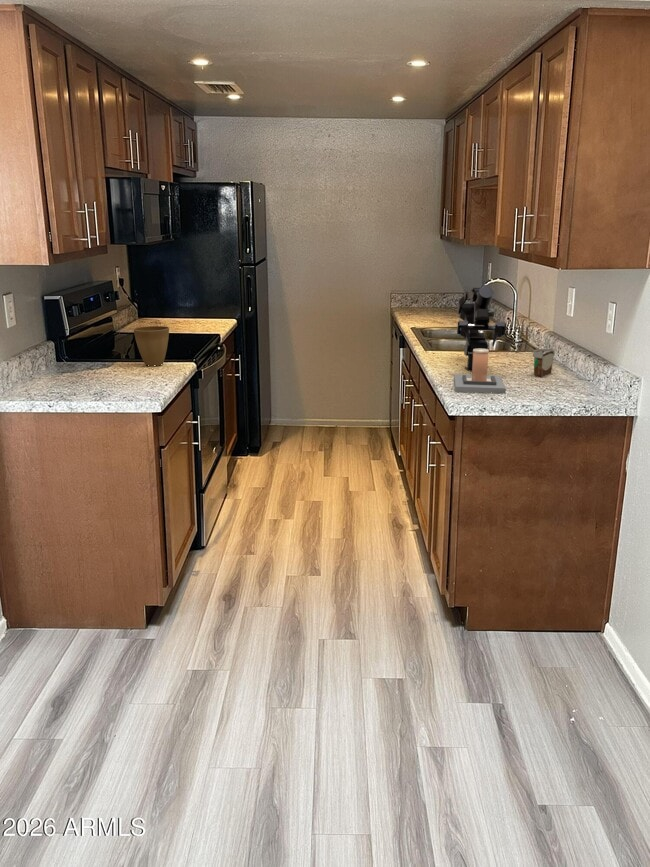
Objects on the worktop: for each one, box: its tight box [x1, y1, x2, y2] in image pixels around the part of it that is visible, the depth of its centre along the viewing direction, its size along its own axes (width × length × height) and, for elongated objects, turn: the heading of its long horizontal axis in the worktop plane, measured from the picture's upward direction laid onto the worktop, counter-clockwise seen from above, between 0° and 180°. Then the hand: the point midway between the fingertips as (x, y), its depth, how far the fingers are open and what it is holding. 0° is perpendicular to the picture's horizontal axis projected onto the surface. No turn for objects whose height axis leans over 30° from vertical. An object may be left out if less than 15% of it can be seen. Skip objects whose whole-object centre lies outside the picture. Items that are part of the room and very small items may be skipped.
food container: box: [532, 348, 555, 378], centre depth 304 cm, size 12×6×10 cm, turn 141°
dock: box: [453, 373, 507, 394], centre depth 284 cm, size 24×18×3 cm
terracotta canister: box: [471, 348, 490, 381], centre depth 281 cm, size 6×6×12 cm
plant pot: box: [133, 325, 170, 367], centre depth 319 cm, size 15×15×16 cm
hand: (481, 345), depth 292 cm, fingers open, 9 cm apart
